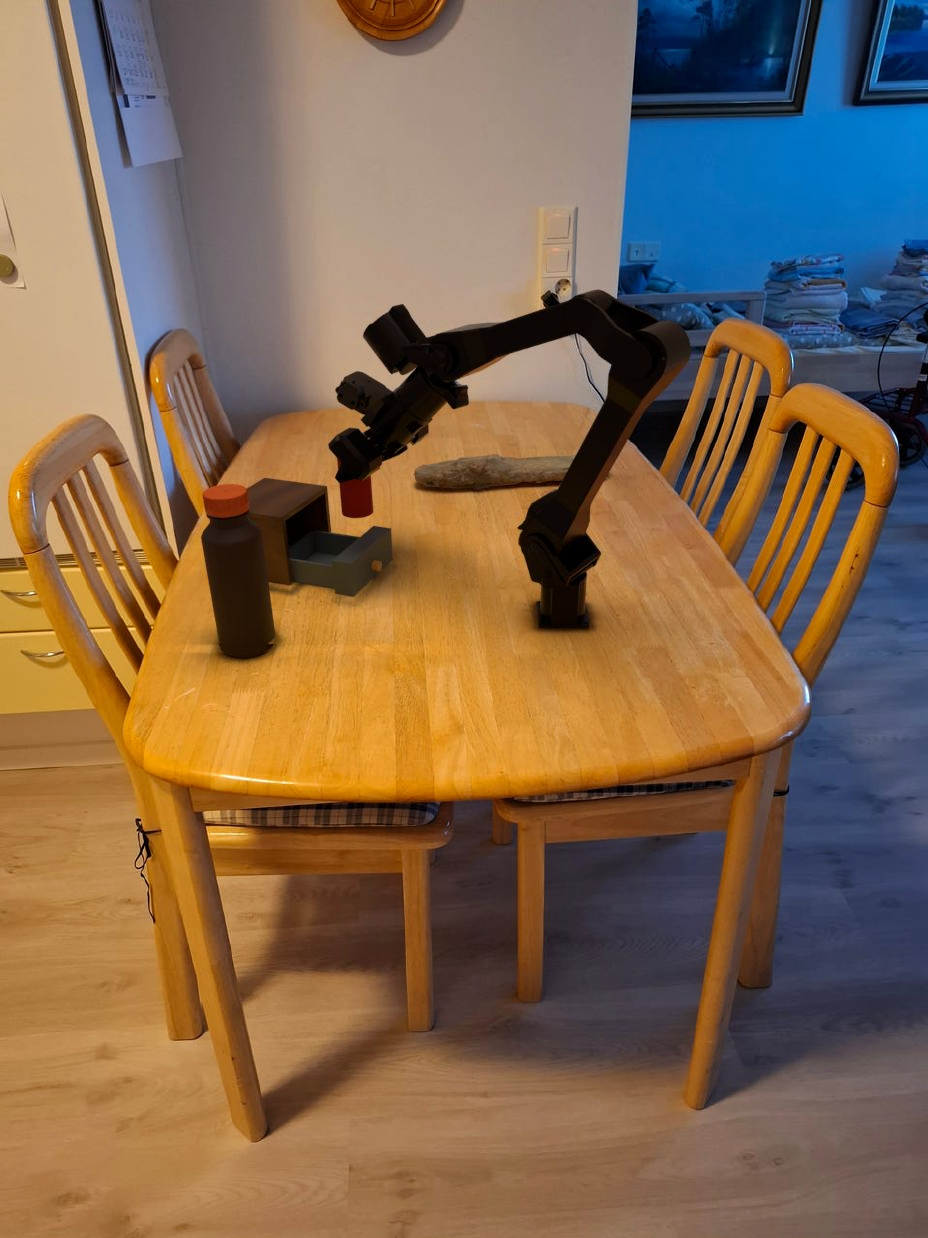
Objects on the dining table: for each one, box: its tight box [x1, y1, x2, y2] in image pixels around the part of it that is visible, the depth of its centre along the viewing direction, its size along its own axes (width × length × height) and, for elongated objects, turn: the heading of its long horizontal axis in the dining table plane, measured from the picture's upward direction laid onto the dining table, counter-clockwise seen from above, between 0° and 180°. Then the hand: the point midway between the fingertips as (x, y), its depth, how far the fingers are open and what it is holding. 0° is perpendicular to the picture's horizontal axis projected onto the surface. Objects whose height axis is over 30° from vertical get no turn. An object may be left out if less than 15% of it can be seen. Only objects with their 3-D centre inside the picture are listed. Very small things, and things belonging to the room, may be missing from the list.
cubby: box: [246, 477, 332, 586], centre depth 126 cm, size 10×12×11 cm
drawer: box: [288, 525, 394, 598], centre depth 124 cm, size 13×12×6 cm
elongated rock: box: [413, 453, 576, 491], centre depth 158 cm, size 35×5×10 cm
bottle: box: [200, 483, 276, 659], centre depth 105 cm, size 7×7×20 cm
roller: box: [336, 457, 374, 519], centre depth 123 cm, size 4×4×8 cm
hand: (346, 474), depth 123 cm, fingers closed on roller, 4 cm apart
